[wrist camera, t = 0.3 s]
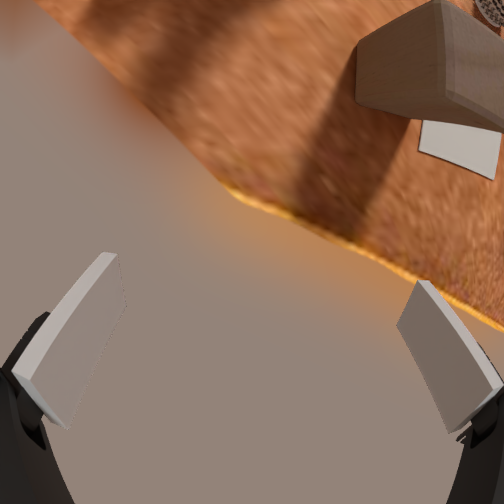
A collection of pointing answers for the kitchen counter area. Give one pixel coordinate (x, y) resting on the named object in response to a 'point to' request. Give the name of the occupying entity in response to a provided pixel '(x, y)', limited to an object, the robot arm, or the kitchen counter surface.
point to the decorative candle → (492, 11)
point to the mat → (462, 145)
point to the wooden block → (434, 68)
